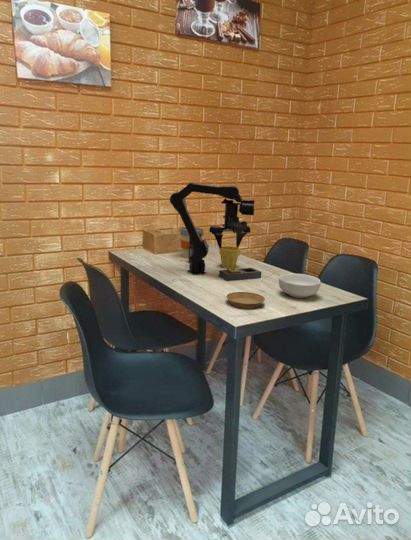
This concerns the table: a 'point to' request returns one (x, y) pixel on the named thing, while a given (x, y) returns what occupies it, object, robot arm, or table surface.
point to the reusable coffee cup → (187, 241)
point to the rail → (240, 274)
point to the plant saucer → (245, 299)
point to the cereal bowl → (299, 285)
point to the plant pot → (229, 256)
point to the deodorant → (191, 247)
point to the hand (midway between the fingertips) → (228, 247)
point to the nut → (233, 270)
